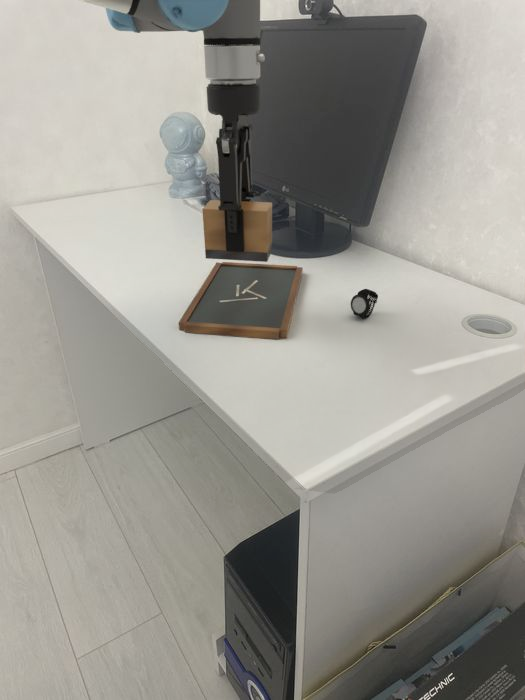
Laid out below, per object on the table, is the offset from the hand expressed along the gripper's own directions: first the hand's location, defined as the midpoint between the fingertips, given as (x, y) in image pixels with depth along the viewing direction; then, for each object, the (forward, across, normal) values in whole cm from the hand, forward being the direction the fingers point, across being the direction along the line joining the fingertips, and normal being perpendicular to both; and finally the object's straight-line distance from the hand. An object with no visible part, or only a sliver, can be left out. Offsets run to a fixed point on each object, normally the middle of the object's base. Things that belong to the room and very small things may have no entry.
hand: (238, 244), depth 83 cm
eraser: (+2, 0, 0) cm, 2 cm away
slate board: (+14, +9, +1) cm, 17 cm away
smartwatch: (+14, +5, -21) cm, 26 cm away
